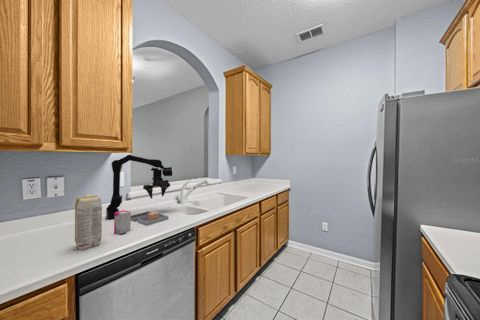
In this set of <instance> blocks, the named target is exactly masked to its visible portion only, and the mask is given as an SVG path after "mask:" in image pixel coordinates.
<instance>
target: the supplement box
mask: <svg viewBox="0 0 480 320" xmlns="http://www.w3.org/2000/svg"><path fill="white" fill-rule="evenodd" d="M131 215H132V213H131V210H119V212H115V213H114V219H113V224H114V225H113V233H114V234H117V235H120V236H121V235H124V234H126V233H128V232H130V231H131V223H132V221H131Z"/></svg>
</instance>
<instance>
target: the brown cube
mask: <svg viewBox="0 0 480 320" xmlns="http://www.w3.org/2000/svg"><path fill="white" fill-rule="evenodd" d="M150 212H151V211H150ZM159 214H160V212H157V211H153V212H151V213H148V221H153V220H156V219H159Z"/></svg>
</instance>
